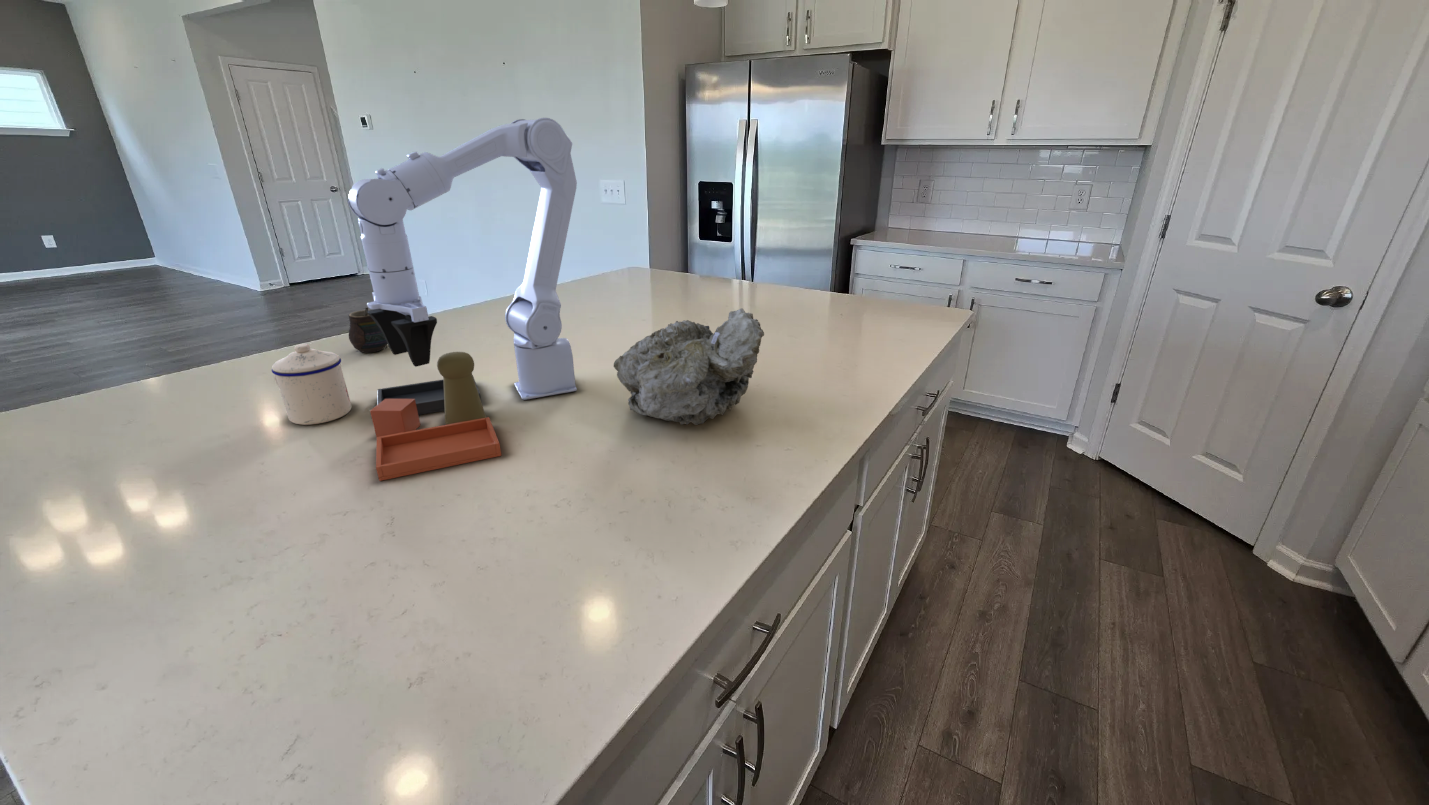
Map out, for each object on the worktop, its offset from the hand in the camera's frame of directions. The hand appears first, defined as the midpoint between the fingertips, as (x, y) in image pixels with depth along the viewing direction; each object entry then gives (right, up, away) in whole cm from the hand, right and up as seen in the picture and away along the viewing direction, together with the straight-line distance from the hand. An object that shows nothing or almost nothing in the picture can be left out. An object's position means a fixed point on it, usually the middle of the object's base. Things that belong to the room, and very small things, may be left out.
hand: (410, 358), depth 89 cm
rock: (+42, -8, +8) cm, 44 cm away
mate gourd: (-26, +4, +35) cm, 44 cm away
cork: (+7, -10, +4) cm, 12 cm away
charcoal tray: (-2, -7, +10) cm, 12 cm away
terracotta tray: (+7, -14, -6) cm, 17 cm away
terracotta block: (-2, -11, 0) cm, 11 cm away
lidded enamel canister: (-19, -9, +6) cm, 21 cm away
